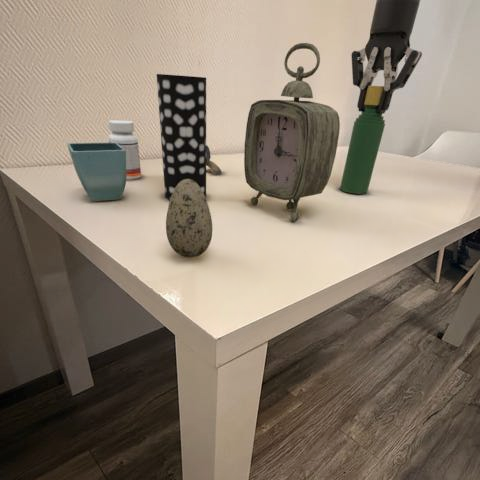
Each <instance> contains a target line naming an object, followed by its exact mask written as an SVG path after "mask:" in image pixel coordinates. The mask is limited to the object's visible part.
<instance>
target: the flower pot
mask: <svg viewBox="0 0 480 480" xmlns="http://www.w3.org/2000/svg"><path fill="white" fill-rule="evenodd" d="M66 144H67V148H68V151H69V154H70V155H69V156H70V158H71V161H72V164H73V168H74V170H75V173H76V176H77V178H78V179H79V182H80V183H81V186H82V188H83V189H84V192H85V193H86V194H87V196H88V197H89V199H90V200H91V201H92V202H102V201H113V200H116V201H117V200H121V199H122V197H123V195H124V192H125V189H126V185H127V180H126V150H125V149H124V148H123V147H121V146H120V145H119V144H118V143H109V142H70V143H68V142H67V143H66Z"/></svg>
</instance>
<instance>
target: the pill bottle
mask: <svg viewBox="0 0 480 480" xmlns="http://www.w3.org/2000/svg"><path fill="white" fill-rule="evenodd" d="M108 128H109V131H110V132H111V133H110V134H109V136H108V143H118V144H119V145H120V146H121V147H123V148H124V149H125V150H126V181H132V180H138V179H140V178H141V177H142V171H141V169H142V168H141V160H140V151H139V150H140V149H139V142H138V141H139V139H138V137H137V136H136V135H135V134H133V132H135V124H134V122H133V121H131V120H121V119H119V120H118V119H117V120H116V119H112V120H111V119H110V120H108Z"/></svg>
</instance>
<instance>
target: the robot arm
mask: <svg viewBox="0 0 480 480" xmlns="http://www.w3.org/2000/svg"><path fill="white" fill-rule="evenodd" d="M420 3H421V0H376V1H375V6H374V10H373V15H372V20H371V24H370V29H369V38H368V41H367V42H366V45H365V47H363V48H361V49H359V50H353V51H352V52H351V54H350V55H351V69H352V70H351V71H352V72H351V73H352V85H353V86H354V87H355V86H356V87H358V88H359V90H360V91H359V96H358V100H357V109H358V110H357V111H358V112H361V113H362V112H364V110H365V108H367V105H365V104H364V102H365V98H366V93H367V89H368V86H373V83H374V81H375V78H377V76H378V74H379V72H380V71H383V78H384V79H383V80H384V82H383V83H384V84H383V86H384V90H385V91H384V92H382V95H381V99H380V103H379V107H378V113H381V114H382V115H383V114H385V113H386V112H387V111H388V110H389V109H390V106H391V101H392V98H393V94H394V92H395V91H396V90H399V89H403V88H404V87H405V86H406V84H407V83H408V81H409V79H410V77H411V76H412V73H413V72H414V71H415V69H416V67H417V65H418V63H419V62H420V60H421V58H422V56H423V53H422V51H420V50H417V49H413V48H412V47H411V43H410V40H411V39H410V38H411V35H412V33H413V29H414V26H415V22H416V19H417V14H418V11H419V7H420ZM366 59H367V64H366V67H365V69H364V62H365V61H366ZM403 59H404V64H403V66H402V68H401V70H400V71H399V63H400V62H401V61H402V60H403ZM398 71H399V74H398Z"/></svg>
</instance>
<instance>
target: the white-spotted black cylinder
mask: <svg viewBox="0 0 480 480" xmlns="http://www.w3.org/2000/svg"><path fill="white" fill-rule="evenodd" d="M156 86H157V101H158V115H159V127H160V128H159V129H160V141H161V143H160V144H161V157H162V171H163V172H162V173H163V185H164V197H165V199H166V200H169V201H170V199H171V196H172V194H173V191H174V189H175V188H176V186H177V185H178V183H180V182H181V181H182V180H184V179H191V180H193V181H195V182H196V183H197V184H198V185H199V187H200V188H201V190H202V191H203V193H204V195H205V198H206V199H207V166H206V145H207V77H204V76H192V75H191V76H190V75H180V74H179V75H177V74H165V73H156Z"/></svg>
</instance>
